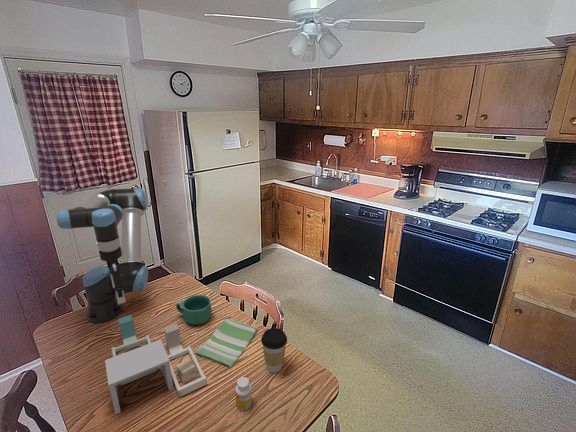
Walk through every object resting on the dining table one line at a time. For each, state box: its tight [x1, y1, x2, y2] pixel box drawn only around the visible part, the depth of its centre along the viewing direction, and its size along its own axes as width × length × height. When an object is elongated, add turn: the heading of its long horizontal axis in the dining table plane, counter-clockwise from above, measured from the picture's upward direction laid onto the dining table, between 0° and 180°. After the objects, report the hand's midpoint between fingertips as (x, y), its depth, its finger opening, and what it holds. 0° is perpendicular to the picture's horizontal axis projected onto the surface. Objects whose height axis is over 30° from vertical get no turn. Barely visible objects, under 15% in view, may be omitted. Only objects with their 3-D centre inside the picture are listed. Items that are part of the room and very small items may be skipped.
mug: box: [175, 294, 212, 325], centre depth 147 cm, size 17×13×10 cm
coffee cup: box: [260, 327, 288, 374], centre depth 120 cm, size 10×10×15 cm
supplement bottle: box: [234, 376, 253, 411], centre depth 106 cm, size 5×5×10 cm
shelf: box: [104, 339, 174, 415], centre depth 110 cm, size 12×18×13 cm, turn 124°
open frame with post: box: [164, 323, 208, 398], centre depth 120 cm, size 28×10×9 cm, turn 34°
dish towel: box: [194, 317, 258, 369], centre depth 134 cm, size 18×23×3 cm
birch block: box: [175, 358, 197, 384], centre depth 117 cm, size 5×5×5 cm
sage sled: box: [111, 314, 161, 388], centre depth 125 cm, size 28×14×9 cm, turn 34°
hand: (119, 294), depth 129 cm, fingers open, 13 cm apart
